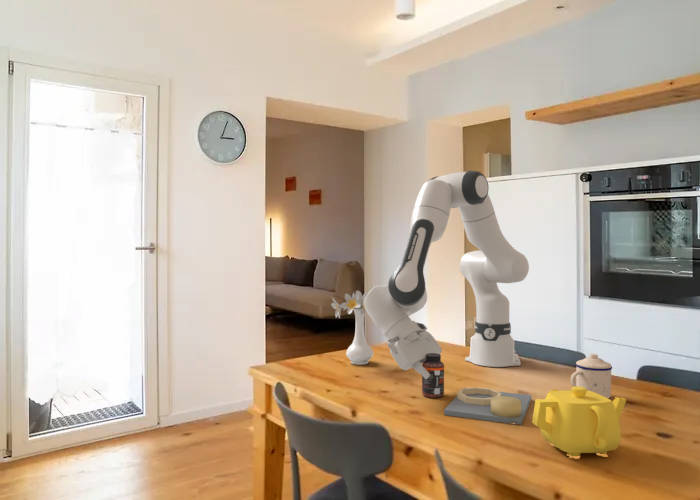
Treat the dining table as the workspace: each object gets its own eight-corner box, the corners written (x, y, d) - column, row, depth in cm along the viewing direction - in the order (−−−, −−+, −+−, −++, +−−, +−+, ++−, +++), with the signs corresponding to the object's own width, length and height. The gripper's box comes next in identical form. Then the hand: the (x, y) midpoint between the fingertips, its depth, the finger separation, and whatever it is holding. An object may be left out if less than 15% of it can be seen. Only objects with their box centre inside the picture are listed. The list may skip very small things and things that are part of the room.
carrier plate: (464, 391, 152) (464, 376, 152) (531, 399, 144) (531, 384, 144) (444, 414, 132) (444, 397, 132) (521, 425, 124) (521, 407, 124)
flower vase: (326, 362, 188) (326, 290, 187) (370, 357, 197) (371, 288, 197) (344, 370, 177) (344, 294, 176) (391, 364, 186) (391, 291, 185)
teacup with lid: (593, 390, 153) (594, 349, 153) (619, 399, 144) (620, 356, 144) (559, 394, 149) (559, 352, 149) (584, 404, 140) (584, 359, 140)
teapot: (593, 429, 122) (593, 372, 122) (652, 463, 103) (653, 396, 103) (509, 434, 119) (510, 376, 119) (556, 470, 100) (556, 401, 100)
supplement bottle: (443, 399, 145) (443, 357, 145) (421, 397, 146) (421, 356, 146) (444, 393, 151) (444, 352, 150) (422, 391, 152) (422, 351, 152)
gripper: (392, 333, 143) (425, 375, 138) (426, 323, 160) (457, 360, 155) (377, 348, 146) (409, 389, 141) (413, 336, 163) (443, 373, 157)
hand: (435, 374), depth 148 cm, fingers open, 6 cm apart
